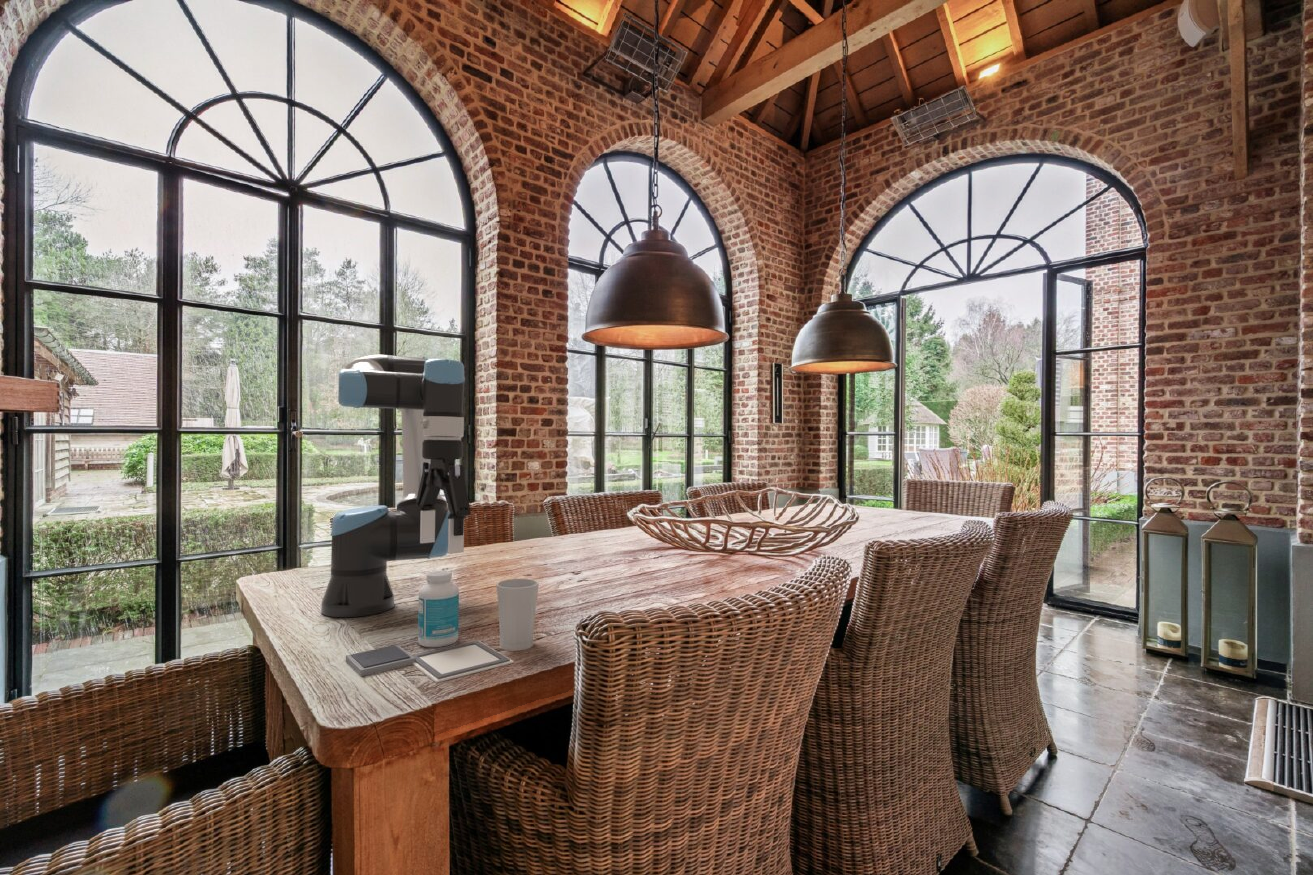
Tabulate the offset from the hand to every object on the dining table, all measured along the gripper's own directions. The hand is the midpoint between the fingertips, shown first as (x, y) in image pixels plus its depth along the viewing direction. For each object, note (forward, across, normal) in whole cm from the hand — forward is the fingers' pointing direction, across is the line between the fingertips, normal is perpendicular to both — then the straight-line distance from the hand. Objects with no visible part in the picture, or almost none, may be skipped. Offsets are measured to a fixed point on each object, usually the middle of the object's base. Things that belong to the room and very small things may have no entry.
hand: (441, 547), depth 118 cm
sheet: (+18, +12, -1) cm, 22 cm away
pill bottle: (+19, 0, 0) cm, 19 cm away
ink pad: (+18, +4, -12) cm, 22 cm away
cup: (+19, +11, +11) cm, 24 cm away
